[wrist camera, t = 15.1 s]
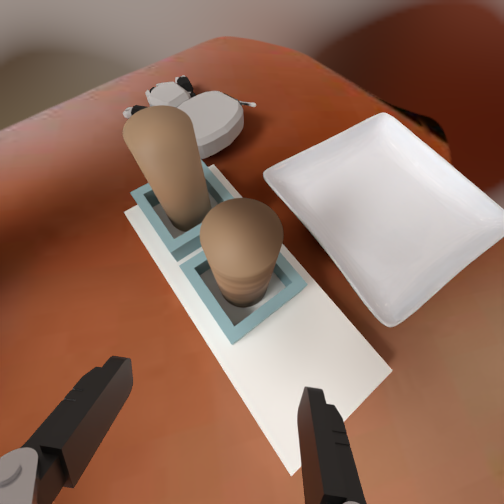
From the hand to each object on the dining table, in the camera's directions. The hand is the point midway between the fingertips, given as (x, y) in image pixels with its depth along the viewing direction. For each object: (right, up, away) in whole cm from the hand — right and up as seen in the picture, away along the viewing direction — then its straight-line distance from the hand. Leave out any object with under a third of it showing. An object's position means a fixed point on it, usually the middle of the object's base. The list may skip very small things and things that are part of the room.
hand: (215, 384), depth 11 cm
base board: (+1, +2, +14) cm, 15 cm away
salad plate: (+17, +11, +19) cm, 28 cm away
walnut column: (+1, +3, +13) cm, 13 cm away
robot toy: (-7, +23, +23) cm, 34 cm away
